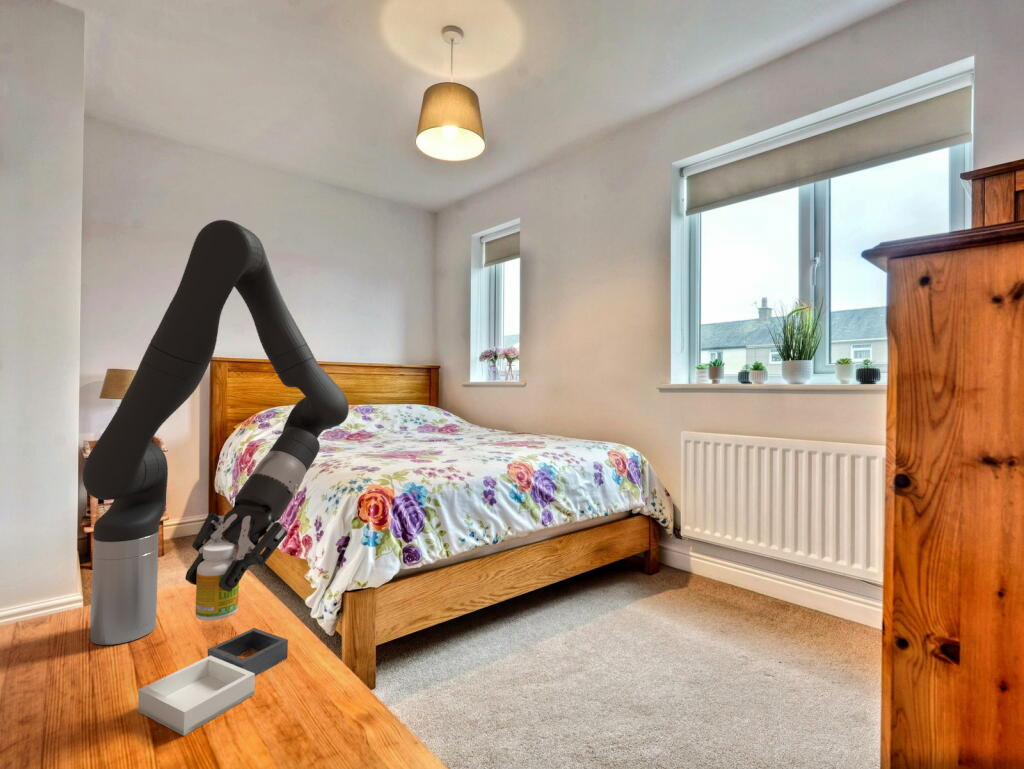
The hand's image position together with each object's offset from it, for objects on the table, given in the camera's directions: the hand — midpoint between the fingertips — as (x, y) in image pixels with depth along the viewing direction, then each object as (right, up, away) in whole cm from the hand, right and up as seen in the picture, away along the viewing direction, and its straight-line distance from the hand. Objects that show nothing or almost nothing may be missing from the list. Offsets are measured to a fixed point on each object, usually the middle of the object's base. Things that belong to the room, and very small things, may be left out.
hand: (207, 585), depth 73 cm
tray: (-1, -16, -1) cm, 16 cm away
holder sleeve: (+1, -16, +9) cm, 18 cm away
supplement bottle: (0, -5, +2) cm, 5 cm away
